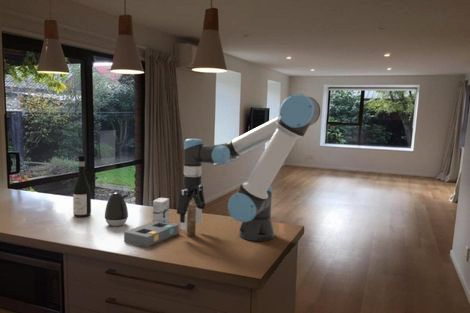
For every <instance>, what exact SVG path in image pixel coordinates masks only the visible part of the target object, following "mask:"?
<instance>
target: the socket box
mask: <svg viewBox="0 0 470 313" xmlns="http://www.w3.org/2000/svg"><path fill="white" fill-rule="evenodd" d="M123 234H124V235H123V236H124V237H123V239H124V240H123V242H124V243H128V244H133V245H136V246H141V247H145V248H149V247H151V246H154V245H156V244H158V243H161V242H162V241H165V240H167V239H169V238H171V237H174V236H176V235H178V234H179V224H178V223H173V222H172V223H171V222H163V221H158V220H156V221H153V220H152V221H151V222H148V223H145V224H142V225H139V226H137V227H134V228H131V229H129V230H125V231H124V233H123Z"/></svg>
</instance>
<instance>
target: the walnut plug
mask: <svg viewBox="0 0 470 313" xmlns="http://www.w3.org/2000/svg"><path fill="white" fill-rule="evenodd" d="M196 208H197V206H196V203H195V202H191V201H190V203H189V206H188V209H187V212H186V215H187V230H186V236H187V237H195V236H196V226H197V225H196V224H197V223H196Z"/></svg>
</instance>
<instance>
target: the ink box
mask: <svg viewBox="0 0 470 313" xmlns="http://www.w3.org/2000/svg"><path fill="white" fill-rule="evenodd" d="M169 208H170V198H168V197H167V198H166V197H159V198H156V199H154V200H153V201H152V222H153V221H156V220H158V221H163V222H168V223H170V222H169V221H170V209H169Z"/></svg>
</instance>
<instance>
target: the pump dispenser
mask: <svg viewBox="0 0 470 313" xmlns="http://www.w3.org/2000/svg"><path fill="white" fill-rule="evenodd" d="M125 198H129V194H128V193H126V194H122V193H121V192H117V191H116V192H113V193H112V194H110V196H109V199H108V200H107V203H106V206H105V210H104V219H105V222H106V223H107V224H108V225H109V226H111V227H121V226H123V225H125V224H126V222H127V220H128V218H129V213H128V211H129V210H128V207H127V206H128V205H127V202H126V200H125Z"/></svg>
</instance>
